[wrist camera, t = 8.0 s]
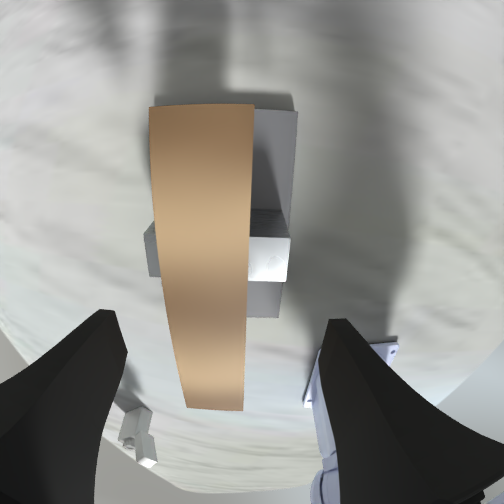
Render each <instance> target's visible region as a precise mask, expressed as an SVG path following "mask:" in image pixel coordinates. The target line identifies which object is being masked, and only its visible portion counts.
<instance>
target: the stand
mask: <svg viewBox="0 0 504 504" xmlns="http://www.w3.org/2000/svg"><path fill="white" fill-rule="evenodd" d="M297 118H298V112H296V111H284V110H269V109H254V133H253V157H252V182H251V207H250V233H249V260H248V287H247V314H246V317H255V318H279V310H280V302H281V294H282V285H283V282H286V276H287V267H288V259H289V250H290V240H291V238H290V234H289V231H288V229H289V218H290V208H291V196H292V185H293V173H294V160H295V147H296V133H297ZM144 242H145V249H146V256H147V263H148V270H149V276H150V277H161V273H160V265H159V258H158V249H157V241H156V231H155V221H153V222H152V224H151V225H150V226H149V228H148V229H147V230H146V232H145V233H144Z"/></svg>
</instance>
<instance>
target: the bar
mask: <svg viewBox="0 0 504 504" xmlns="http://www.w3.org/2000/svg"><path fill="white" fill-rule="evenodd" d="M254 108H255V104H188V105H169V106H156V107H149V142H150V167H151V184H152V198H153V210H154V221H155V231H156V241H157V249H158V258H159V265H160V273H161V280H162V287H163V293H164V300H165V306H166V312H167V318H168V323H169V329H170V334H171V339H172V344H173V349H174V354H175V359H176V364H177V368H178V373H179V377H180V382H181V386H182V390H183V394H184V398H185V402H186V406H187V408H195V409H208V410H226V411H243V401H244V371H245V342H246V314H247V287H248V260H249V233H250V207H251V182H252V157H253V133H254Z"/></svg>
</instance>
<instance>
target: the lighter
mask: <svg viewBox="0 0 504 504" xmlns="http://www.w3.org/2000/svg"><path fill="white" fill-rule="evenodd" d="M152 414H153V413H152V412H151V411H149V410H148V409H146V408H144V407H142V406H141V407H139V408H136V409H134V410H131V411H129V412H126V413H125V416H124V419H123V423H122V426H121V430H120V433H119V437H118V441H119V442H121V443H123V447H124V448H125V449H128V450H135V451H136V461H137V462H138V463H140V464H142V465H144V466H146V467H151V466H152V465H154V464H155V463H156V462H158V461H157V456H156V450H155V443H154V437H153V436H152V435H150V434H148V431H149V427H150V422H151V418H152Z"/></svg>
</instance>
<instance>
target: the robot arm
mask: <svg viewBox="0 0 504 504" xmlns="http://www.w3.org/2000/svg"><path fill="white" fill-rule="evenodd" d="M398 349H399V344H398V343H397V342H391V343H380V344H368V343H367V342H366V341H365V339H364V338H363V337H362V336H361V335H360V334H359V333H358V331H357V330H356V329H355V328H354V327H353V326H352V324H351V323H350V322H349V321H348V320H347V319H329V321H328V325H327V329H326V332H325V336H324V340H323V344H322V347H321V349H320V350H319V352H318V355H317V359H316V362H315V366H314V369H313V372H312V376H311V379H310V382H309V386H308V389H307V392H306V395H305V398H304V401H303V407H305V408H312V409H313V415H314V421H315V427H316V433H317V439H318V445H319V450H320V453H321V455H322V457H323V458H324V459H323V460H322V462H323V469H322V470H320V471H318V472H317V474H316V475H315V478H314V480H313V482H312V485H311V491H310V497H311V504H481V502H480V501H481V500H483V499H484V498H485V495H484V492H483V490H484V489H486V488H487V487H489V486H490V485H492V484H494V483H495V482H497V481H498V480H499V479H501V478H502V477H504V444H502V443H500V442H497V441H495V440H492V439H490V438H488V437H485V436H483V435H481V434H479V433H477V432H475V431H473V430H471V429H469V428H467V427H466V426H464V425H462V424H460V423H459V422H457V421H455V420H454V419H452V418H451V417H449V416H448V415H446V414H445V413H443V412H442V411H440V410H439V409H437V408H436V407H435V406H433V405H432V404H431V403H429V402H428V401H427V400H426V399H424V398H423V397H422V396H421V395H420V394H418V393H417V392H416V391H415V390H414V389H412V388H411V387H410V386H409V385H408V384H407V383H406V382H405V381H404V380H403V379H402V378H401V377H400V376H398V375H397V374H396V373H395V372H394V371H393V370H392V369H391V368H390V367H389V366H390V364H391V363H392V361H393V359H394V357H395V355H396V353H397V351H398ZM127 353H128V351H127V348H126V345H125V343H124V340H123V336H122V333H121V330H120V327H119V324H118V321H117V317H116V314H115V311H113V310H104V309H99V310H98V311H96V312H95V313H94V314H92V315H91V316H90V317H89V318H88V319H86V320H85V321H84V322H83V323H82V324H80V325H79V326H78V327H77V328H76V329H74V330H73V331H72V332H71V333H70V334H68V335H67V336H66V337H65V338H64V339H63V340H61V341H60V342H59V343H58V344H57V345H55V346H54V347H53V348H52V349H50V350H49V351H48V352H46V353H45V354H44V355H43V356H41V357H40V358H39V359H38V360H36V361H35V362H34V363H32V364H31V365H30V366H28V367H27V368H26V369H24V370H22V371H21V372H19V373H18V374H16V375H15V376H13V377H11V378H10V379H8V380H6V381H5V382H3V383H1V384H0V504H94V487H95V474H96V465H97V457H98V452H99V446H100V441H101V436H102V432H103V429H104V425H105V422H106V419H107V416H108V414H109V411H110V408H111V405H112V402H113V400H114V397H115V394H116V391H117V389H118V386H119V383H120V380H121V378H122V374H123V370H124V366H125V362H126V357H127ZM484 504H504V492H502V493H501V494H499V495H497V496H496V497H494V498H493V499H491V500H490V501H488V502H486V503H484Z"/></svg>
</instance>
